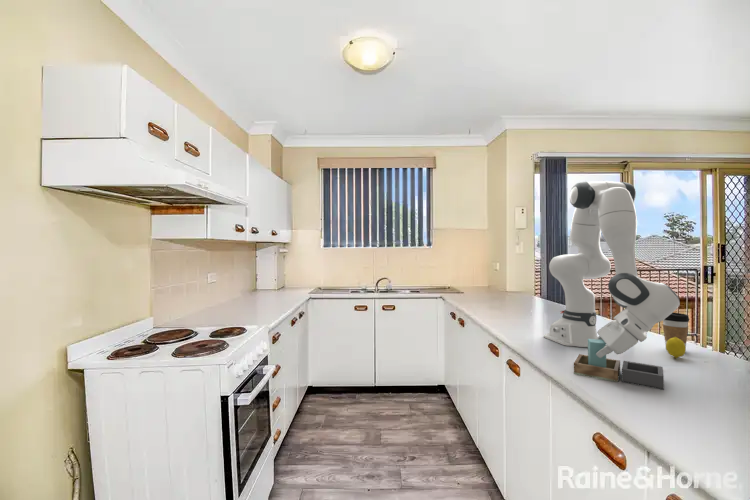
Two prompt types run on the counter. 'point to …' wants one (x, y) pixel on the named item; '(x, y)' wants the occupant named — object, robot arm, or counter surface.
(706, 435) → the counter surface
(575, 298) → the robot arm
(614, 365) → the walled bay
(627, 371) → the box
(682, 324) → the coffee cup
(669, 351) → the lemon
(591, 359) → the teal block
